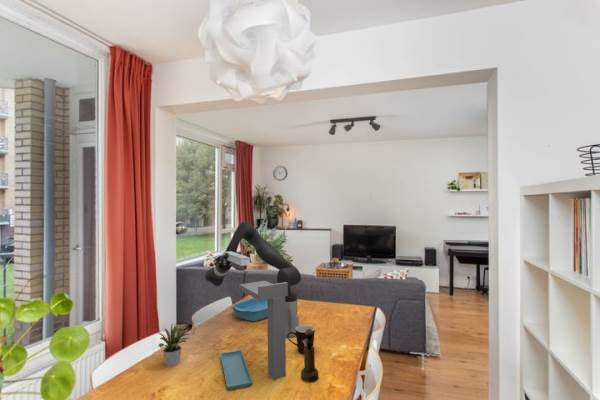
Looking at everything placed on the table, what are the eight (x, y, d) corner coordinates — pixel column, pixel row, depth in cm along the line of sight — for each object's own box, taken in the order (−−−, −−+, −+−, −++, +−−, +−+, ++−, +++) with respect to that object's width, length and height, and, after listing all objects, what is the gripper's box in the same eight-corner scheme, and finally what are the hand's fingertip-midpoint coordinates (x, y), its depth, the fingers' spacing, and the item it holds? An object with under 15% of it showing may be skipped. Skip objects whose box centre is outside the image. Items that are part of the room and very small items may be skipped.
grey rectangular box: (223, 258, 162) (223, 251, 162) (231, 257, 164) (231, 251, 164) (241, 265, 141) (241, 258, 141) (249, 264, 143) (249, 257, 143)
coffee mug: (317, 348, 145) (317, 326, 145) (311, 357, 136) (311, 333, 137) (293, 345, 148) (293, 323, 149) (286, 353, 140) (286, 330, 140)
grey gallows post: (239, 361, 133) (239, 277, 134) (265, 354, 139) (265, 273, 140) (260, 384, 116) (259, 287, 116) (289, 375, 122) (288, 282, 123)
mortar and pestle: (300, 373, 123) (299, 326, 124) (316, 372, 124) (316, 325, 124) (301, 382, 117) (301, 333, 117) (319, 381, 117) (318, 332, 117)
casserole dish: (267, 302, 215) (267, 292, 215) (293, 308, 202) (293, 297, 202) (224, 318, 185) (224, 306, 185) (252, 326, 172) (252, 313, 172)
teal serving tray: (253, 387, 114) (252, 380, 115) (226, 392, 111) (226, 385, 112) (241, 355, 139) (241, 349, 139) (220, 359, 136) (220, 353, 136)
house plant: (165, 378, 120) (165, 334, 121) (143, 368, 128) (143, 327, 128) (196, 362, 132) (196, 322, 133) (174, 354, 140) (174, 317, 140)
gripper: (208, 261, 167) (216, 248, 154) (234, 258, 174) (244, 245, 162) (210, 275, 163) (219, 262, 151) (236, 271, 171) (247, 259, 159)
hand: (232, 254), depth 156 cm, fingers closed on grey rectangular box, 4 cm apart
